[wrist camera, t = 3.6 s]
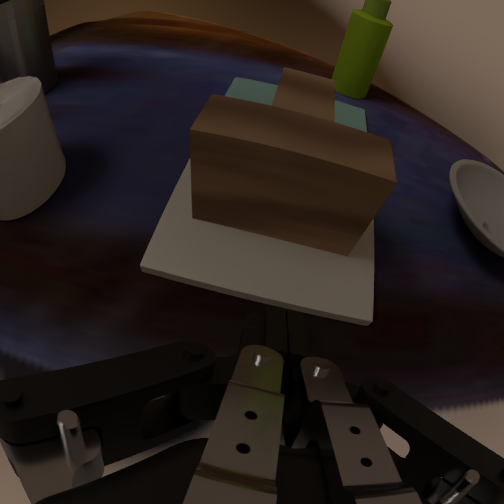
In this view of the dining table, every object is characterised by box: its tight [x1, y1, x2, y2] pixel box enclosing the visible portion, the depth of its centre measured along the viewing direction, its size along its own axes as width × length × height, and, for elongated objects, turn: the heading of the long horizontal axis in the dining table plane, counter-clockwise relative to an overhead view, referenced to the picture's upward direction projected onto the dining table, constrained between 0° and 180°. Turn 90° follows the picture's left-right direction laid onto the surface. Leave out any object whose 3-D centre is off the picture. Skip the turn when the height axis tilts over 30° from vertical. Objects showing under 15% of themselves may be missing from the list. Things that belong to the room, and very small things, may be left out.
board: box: [140, 77, 374, 326], centre depth 31 cm, size 30×18×1 cm, turn 168°
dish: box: [449, 159, 504, 257], centre depth 30 cm, size 18×14×5 cm
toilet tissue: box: [0, 76, 66, 220], centre depth 23 cm, size 11×12×10 cm
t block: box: [190, 67, 397, 256], centre depth 25 cm, size 12×13×9 cm
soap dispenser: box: [331, 0, 393, 99], centre depth 35 cm, size 6×7×20 cm
